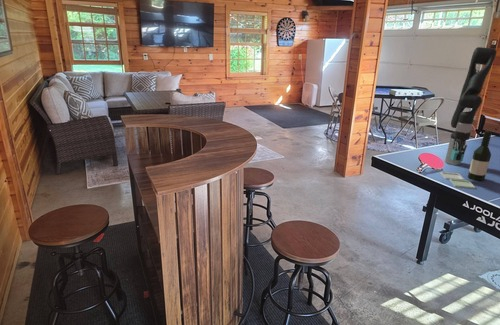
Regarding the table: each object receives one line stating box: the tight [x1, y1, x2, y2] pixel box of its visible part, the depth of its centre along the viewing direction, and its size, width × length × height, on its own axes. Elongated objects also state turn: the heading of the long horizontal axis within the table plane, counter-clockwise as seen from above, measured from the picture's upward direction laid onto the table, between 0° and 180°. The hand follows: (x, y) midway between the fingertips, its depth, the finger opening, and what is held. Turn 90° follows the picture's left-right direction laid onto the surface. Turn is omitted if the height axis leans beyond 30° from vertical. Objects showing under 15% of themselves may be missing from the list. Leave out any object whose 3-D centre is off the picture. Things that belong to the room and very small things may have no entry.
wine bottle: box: [467, 129, 492, 182], centre depth 189 cm, size 8×8×30 cm
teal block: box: [450, 150, 465, 162], centre depth 192 cm, size 5×5×5 cm
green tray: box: [449, 179, 476, 190], centre depth 186 cm, size 10×10×1 cm
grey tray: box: [440, 171, 466, 181], centre depth 196 cm, size 10×10×1 cm
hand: (456, 158), depth 192 cm, fingers closed on teal block, 5 cm apart
